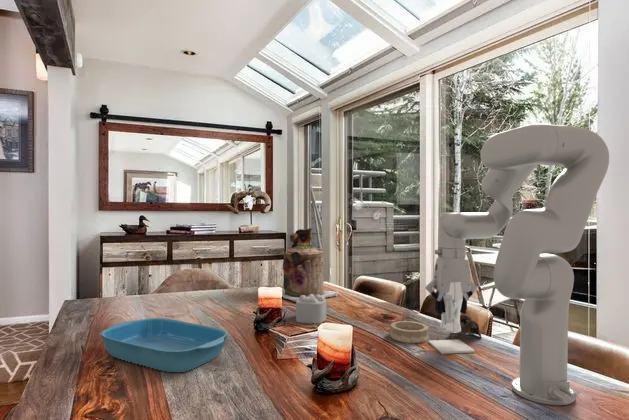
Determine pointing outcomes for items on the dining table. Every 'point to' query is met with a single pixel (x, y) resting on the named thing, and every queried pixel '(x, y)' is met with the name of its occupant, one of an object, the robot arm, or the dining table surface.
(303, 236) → the cookie jar
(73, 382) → the dining table surface
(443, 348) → the coaster
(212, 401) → the dining table surface
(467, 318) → the dark brown arch
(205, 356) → the casserole dish
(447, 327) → the beer glass
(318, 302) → the gray box with bumps
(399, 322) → the collar
